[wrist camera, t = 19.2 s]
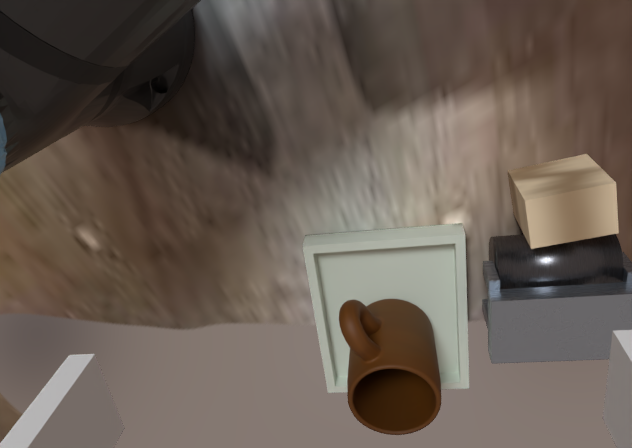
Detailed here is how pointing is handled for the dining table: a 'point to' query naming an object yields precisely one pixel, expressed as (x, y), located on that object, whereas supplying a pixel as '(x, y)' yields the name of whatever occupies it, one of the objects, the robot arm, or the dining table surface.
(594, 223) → the block
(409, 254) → the tray
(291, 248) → the dining table surface
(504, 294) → the gray bench
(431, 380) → the mug
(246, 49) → the dining table surface
